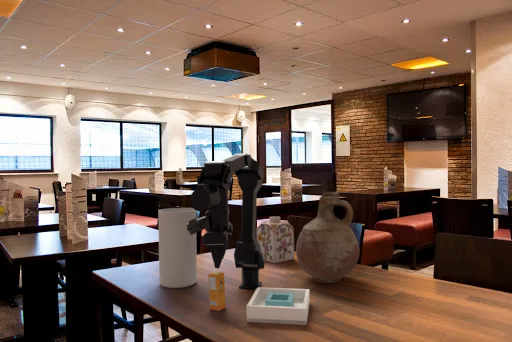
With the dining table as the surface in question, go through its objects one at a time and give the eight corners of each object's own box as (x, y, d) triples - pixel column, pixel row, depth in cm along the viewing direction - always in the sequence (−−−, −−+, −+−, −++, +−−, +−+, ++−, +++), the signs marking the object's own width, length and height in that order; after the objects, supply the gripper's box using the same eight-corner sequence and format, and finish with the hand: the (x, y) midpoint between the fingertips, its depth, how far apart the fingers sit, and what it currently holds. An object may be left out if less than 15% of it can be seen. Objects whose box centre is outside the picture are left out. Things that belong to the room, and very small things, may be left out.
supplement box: (217, 305, 113) (216, 270, 113) (226, 308, 111) (225, 272, 110) (208, 309, 110) (208, 273, 110) (217, 311, 108) (216, 275, 108)
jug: (303, 269, 151) (302, 190, 151) (362, 273, 144) (361, 191, 144) (289, 285, 131) (288, 194, 131) (356, 291, 124) (355, 195, 123)
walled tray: (257, 300, 116) (257, 287, 116) (309, 303, 114) (309, 289, 114) (246, 321, 101) (246, 306, 101) (306, 325, 98) (306, 308, 98)
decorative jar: (276, 255, 177) (275, 214, 177) (295, 259, 168) (294, 217, 168) (255, 259, 170) (255, 217, 169) (274, 264, 161) (273, 219, 160)
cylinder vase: (170, 291, 127) (169, 212, 127) (153, 283, 136) (152, 210, 136) (203, 283, 135) (202, 209, 135) (185, 276, 144) (184, 207, 144)
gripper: (194, 203, 118) (196, 255, 119) (181, 212, 100) (183, 273, 100) (232, 202, 118) (233, 255, 119) (225, 211, 99) (227, 273, 100)
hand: (219, 263), depth 109 cm, fingers open, 9 cm apart
